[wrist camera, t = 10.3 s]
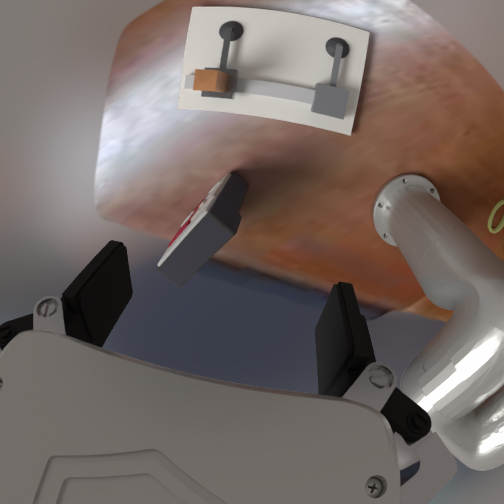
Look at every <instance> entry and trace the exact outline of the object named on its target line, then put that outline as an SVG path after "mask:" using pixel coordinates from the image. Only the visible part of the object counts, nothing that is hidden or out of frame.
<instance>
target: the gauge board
mask: <svg viewBox="0 0 504 504" xmlns="http://www.w3.org/2000/svg"><path fill="white" fill-rule="evenodd" d="M228 26H231V27H232V28H233V32H232V36H231V41H230V47H229V54H228V60H227V66H226V69H237V70H238V76H237V83H236V90H235V96H234V99H226V98H214V97H201V92H202V91H199V90H193V84H194V76H195V69H205V67H208V68H219V67H220V61H221V54H222V48H223V42H224V36H225V30H226V28H227V27H228ZM369 33H370V32H367V31H364V30H361V29H357V28H354V27H351V26H347V25H344V24H340V23H336V22H333V21H329V20H324V19H320V18H315V17H311V16H306V15H300V14H295V13H288V12H282V11H274V10H266V9H256V8H242V7H193V8H192V13H191V18H190V23H189V29H188V35H187V41H186V47H185V53H184V60H183V67H182V75H181V83H180V91H179V101H178V109H196V110H209V111H219V112H229V113H238V114H245V115H253V116H260V117H266V118H272V119H278V120H284V121H289V122H294V123H299V124H304V125H309V126H313V127H318V128H322V129H326V130H331V131H335V132H338V133H342V134H346V135H350V136H351V131H352V127H353V122H354V117H355V113H356V108H357V103H358V98H359V93H360V88H361V82H362V77H363V71H364V65H365V59H366V53H367V47H368V40H369Z"/></svg>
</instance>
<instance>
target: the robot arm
mask: <svg viewBox="0 0 504 504" xmlns="http://www.w3.org/2000/svg"><path fill="white" fill-rule="evenodd" d="M403 179H404V180H403ZM402 180H403V181H402ZM430 189H431V190H430ZM379 203H380V204H379ZM373 223H374V226H375V228H376V231H377V232H378V234H379V235H380V237H381V238H382V239H383V240H384V241H386V242H387V243H388V244H391V245H393V246H397V247H398V248H399V250H400V251H401V253H402V255H403V256H404V258H405V260H406V261H407V263H408V265H409V266H410V268H411V270H412V271H413V273H414V275H415V277H416V278H417V280H418V282H419V284H420V286H421V287H422V289H423V291H424V293H425V294H426V296H427V297H428V298H429V299H430V301H431V302H433V303H434V304H435V305H437V306H439V307H442V308H445V309H449V310H455V312H454V313H453V315H452V317H451V318H450V319H449V320H448V322H447V323H446V324H445V325H444V327H443V329H442V330H441V331H440V332H439V333H438V334H437V335H436V336H435V337H434V338H433V339H432V341H431V342H430V343H429V344H428V345H427V346H426V347H425V348H424V349H423V350H422V351H421V352H420V353H419V354H418V355H417V356H416V357H415V358H414V359H413V361H412V362H411V363H410V364H409V365H408V367H407V368H406V370H405V371H404V373H403V376H402V379H401V391H400V390H399V389H398V388H397V387H396V384H397V377H396V374H395V372H394V371H393V369H392V368H391V367H389V366H388V365H386V364H385V363H381V362H376V359H375V355H374V351H373V347H372V343H371V339H370V335H369V331H368V327H367V323H366V319H365V317H364V316H363V315H361V314H360V310H359V307H358V303H357V299H356V296H355V292H354V289H353V285H352V284H351V283H345V282H339V283H338V284H337V285H336V284H334V285H333V287H332V290H331V292H330V295H329V297H328V300H327V302H326V305H325V307H324V309H323V312H322V314H321V317H320V319H319V321H318V324H317V326H316V329H315V339H316V354H317V370H318V389H319V394H311V393H302V392H293V391H285V390H277V389H270V388H263V387H256V386H250V385H244V384H238V383H232V382H227V381H222V380H217V379H212V378H207V377H203V376H198V375H194V374H189V373H185V372H181V371H177V370H173V369H169V368H165V367H162V366H158V365H155V364H151V363H147V362H144V361H140V360H137V359H134V358H131V357H128V356H125V355H121V354H118V353H115V352H112V351H110V350H106V349H103V348H102V346H103V344H104V343H105V341H106V339H107V337H108V336H109V334H110V332H111V330H112V329H113V327H114V325H115V324H116V322H117V320H118V319H119V317H120V315H121V314H122V312H123V310H124V308H125V307H126V306H127V304H128V302H129V300H130V299H131V297H132V293H133V291H132V284H131V278H130V271H129V264H128V256H127V249H126V247H125V246H124V244H123V243H122V242H118V241H113V240H111V241H109V242H108V244H107V245H106V246H105V247H104V248H103V249H102V250H101V251H100V252H99V253H98V254H97V255H96V256H95V257H94V258H93V259H92V261H91V262H90V263H89V264H88V265H87V266H86V267H85V268H84V270H82V271H81V273H80V274H79V275H78V276H77V277H76V278H75V280H74V281H73V282H72V283H71V284H70V285H69V286H68V288H67V289H66V290H65V291H64V292H63V294H62V295H63V297H62V298H61V299H59V298H58V297H56V296H47V297H44V298H42V299H41V300H39V301H38V302H37V303H36V305H35V307H34V310H33V314H29V315H26V316H23V317H20V318H17V319H14V320H11V321H8V322H5V323H3V324H2V325H1V326H0V504H427V503H428V502H429V501H431V500H432V498H434V497H435V496H436V495H437V494H438V493H439V492H440V491H441V490H442V489H443V488H444V487H445V485H446V484H447V483H448V482H449V481H450V480H451V479H452V478H453V477H454V475H455V474H456V470H457V463H456V460H455V459H454V457H453V456H452V454H453V455H454V456H456V457H457V458H458V459H459V460H460V461H461V462H463V463H464V464H465V465H466V466H468V467H470V468H472V469H474V470H481V471H485V470H490V469H493V468H496V467H498V466H500V465H502V464H504V261H502V260H501V259H500V258H499V257H498V256H497V255H496V254H495V253H494V252H493V251H492V250H491V249H490V248H489V247H488V246H487V245H485V244H484V243H483V242H482V240H481V239H480V238H479V237H478V236H477V235H476V234H474V233H473V232H472V231H471V230H470V229H469V228H468V227H467V226H466V225H465V224H464V223H463V222H462V221H461V220H460V219H459V218H458V217H457V216H455V215H454V214H453V213H452V212H451V211H450V210H449V209H448V208H447V207H445V206H444V205H443V204H442V203H441V201H440V197H439V194H438V191H437V189H436V188H435V187H434V185H433V184H432V183H431V182H430V181H428V180H427V179H426V178H424V177H422V176H420V175H417V174H403V175H400V176H397V177H395V178H393V179H391V180H390V181H389V182H387V183H386V184H385V185H384V186H383V188H382V189H381V190H380V191H379V193H378V195H377V197H376V199H375V202H374V206H373ZM450 452H451V453H452V454H451V453H450Z"/></svg>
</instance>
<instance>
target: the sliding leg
mask: <svg viewBox="0 0 504 504" xmlns="http://www.w3.org/2000/svg"><path fill="white" fill-rule="evenodd" d="M232 32H233V28H232V27H231V26H228V27H227V28H226V30H225V36H224V42H223V48H222V54H221V61H220V67H219V68H208V67H205V69H195V76H194V84H193V90H199V91H202V92H201V97H214V98H226V99H234V96H235V90H236V83H237V76H238V70H237V69H226V66H227V60H228V54H229V47H230V41H231V36H232Z"/></svg>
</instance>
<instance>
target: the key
mask: <svg viewBox="0 0 504 504" xmlns="http://www.w3.org/2000/svg"><path fill="white" fill-rule="evenodd" d="M503 204H504V200H500V201H499V202H498V203H497V204H496V205H495V207H494V208H493V210H492V212H491V214H490V216H489V219H488V230H489V231H490V232H492V233H497V232H499V231H500V230H501V229H502V227H503V226H504V216H503V218H502V220H501V222H500V223H499V224H498V226H497V227H496V228H494V229H492V227H491V225H492V219H493V217H494V214H495V212H496V211H497V209H498V208H499V207H500V206H501V205H503Z"/></svg>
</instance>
